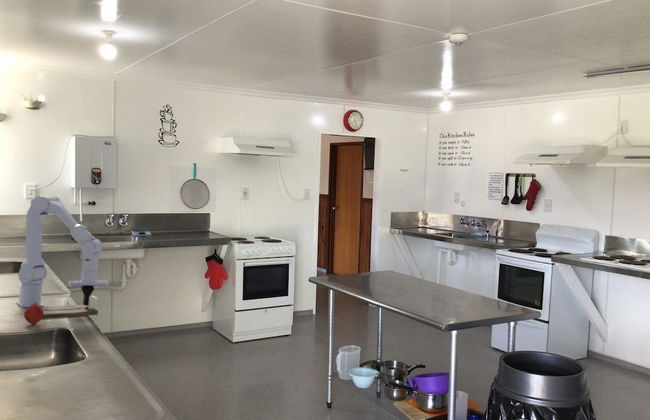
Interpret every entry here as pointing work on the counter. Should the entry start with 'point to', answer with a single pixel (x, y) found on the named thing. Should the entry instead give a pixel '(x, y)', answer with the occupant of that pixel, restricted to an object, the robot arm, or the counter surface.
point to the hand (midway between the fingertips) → (86, 304)
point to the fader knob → (92, 302)
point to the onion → (33, 314)
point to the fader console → (67, 311)
